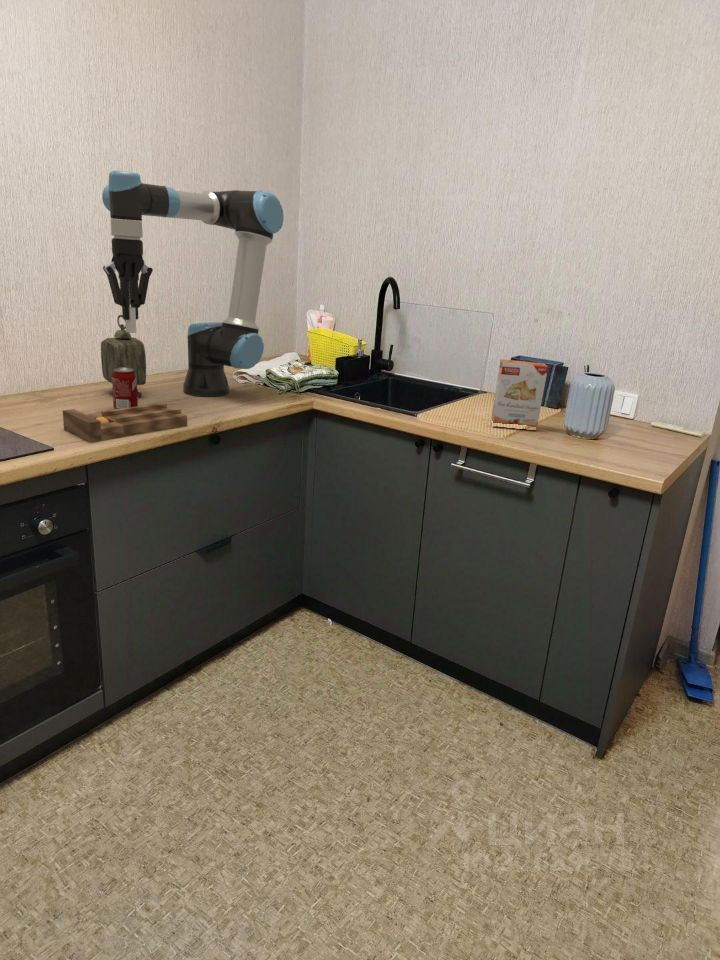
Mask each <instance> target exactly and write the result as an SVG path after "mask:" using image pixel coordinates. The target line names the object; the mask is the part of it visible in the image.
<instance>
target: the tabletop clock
mask: <svg viewBox="0 0 720 960" xmlns="http://www.w3.org/2000/svg"><path fill="white" fill-rule="evenodd" d="M120 318H122V319H123V317H122V314H118V316H117V326H118V328H120V329H118V330H116V331H115V333H114V335H113V337H107V338H105V339H103V340H102V341H101V342H100V360H101V372H102V377H103V378H104V380H106V381H107V382H108V383H111V384H112V374H113V373H114V369H115V368H132V369H134V372H135V374H136V375H137V386H143V385H146V383H147V359H146V358H147V356H146V348H145V344H144V342H143V341H141V340H140V339H139V338H136V337H134V336H132V335H131V333H129V332H126V322H125V319H123V320H124V323H125V325H124V324H122V323H121V324H120ZM142 394H143V393H142V392H139V390H138V389H137V397H138V398H142V396H143V395H142Z"/></svg>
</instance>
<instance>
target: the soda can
mask: <svg viewBox="0 0 720 960" xmlns="http://www.w3.org/2000/svg"><path fill="white" fill-rule="evenodd" d="M111 385H112V402H113V403H112V405H113V410H115V409H123V408H130V407H137V406H139V404H138V403H139V401H138V398H139V397H137V390H138V385H137V375H136V374H135V372H134V369H132V368H115V369H114V373H113V374H112V383H111Z"/></svg>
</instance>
